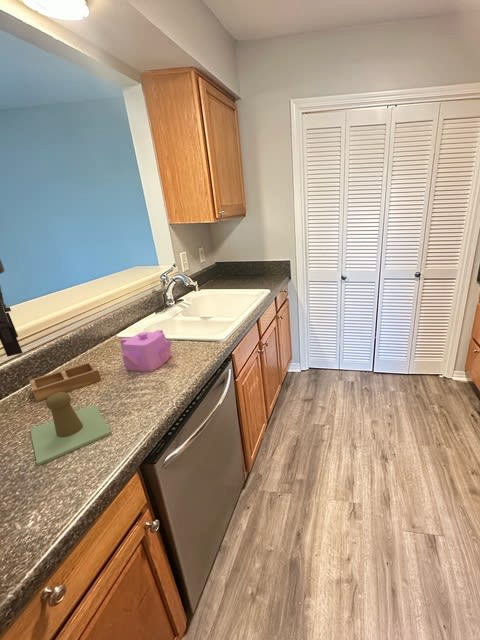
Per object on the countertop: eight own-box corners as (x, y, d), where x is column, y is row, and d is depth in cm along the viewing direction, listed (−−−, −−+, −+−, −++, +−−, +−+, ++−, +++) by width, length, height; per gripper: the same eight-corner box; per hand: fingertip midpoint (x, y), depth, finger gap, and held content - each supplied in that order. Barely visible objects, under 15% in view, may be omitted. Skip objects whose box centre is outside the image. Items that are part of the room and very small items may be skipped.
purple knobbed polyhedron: (167, 349, 135) (160, 321, 130) (178, 364, 122) (171, 334, 117) (122, 361, 126) (113, 332, 121) (128, 379, 113) (119, 347, 108)
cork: (67, 439, 83) (52, 403, 79) (51, 435, 85) (35, 400, 81) (88, 424, 89) (75, 390, 84) (72, 421, 91) (59, 387, 86)
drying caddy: (33, 390, 109) (29, 380, 108) (94, 370, 120) (91, 361, 119) (36, 401, 102) (32, 391, 101) (101, 380, 113) (98, 370, 112)
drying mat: (30, 430, 89) (29, 428, 88) (96, 406, 98) (95, 403, 98) (37, 466, 76) (36, 463, 76) (111, 433, 86) (111, 431, 86)
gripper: (0, 260, 64) (38, 356, 72) (-3, 249, 81) (27, 328, 89) (-53, 266, 59) (-7, 368, 67) (-45, 253, 76) (-9, 336, 85)
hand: (13, 345), depth 78 cm, fingers open, 13 cm apart
